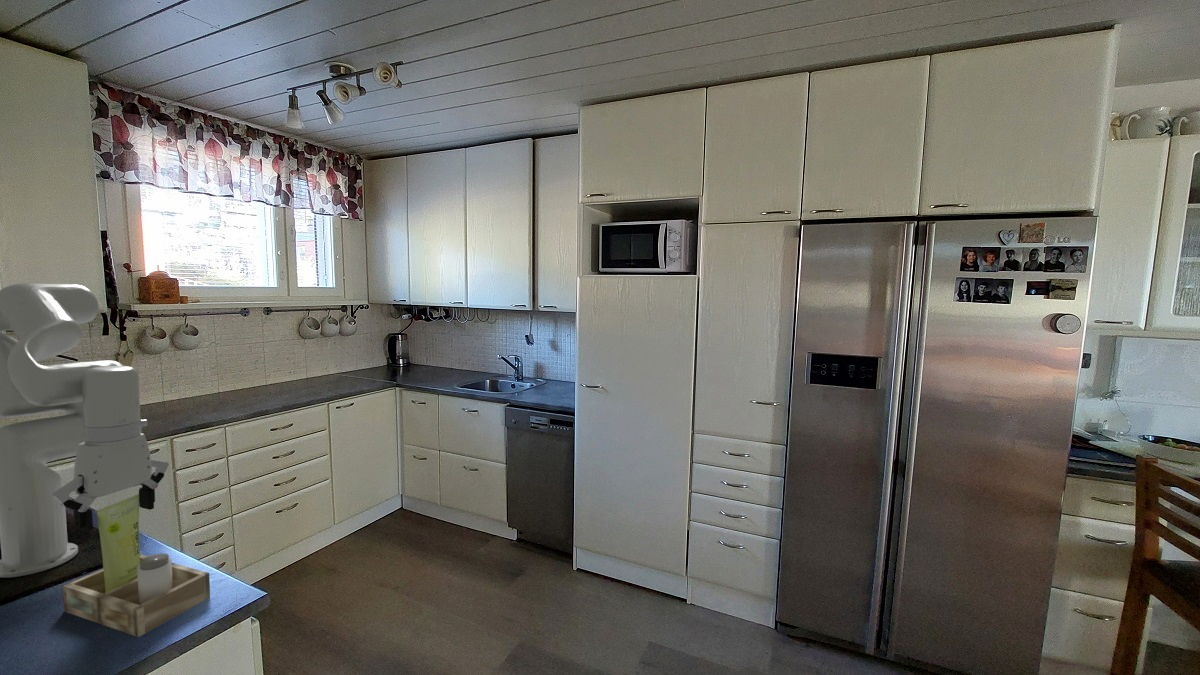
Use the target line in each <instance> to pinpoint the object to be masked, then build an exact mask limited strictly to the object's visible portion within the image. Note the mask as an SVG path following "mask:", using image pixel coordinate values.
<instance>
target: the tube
mask: <svg viewBox="0 0 1200 675" xmlns="http://www.w3.org/2000/svg"><path fill="white" fill-rule="evenodd" d="M95 512H96V513H95V515H96V518H97V520H96V521H97V526H98V532H99V540H100V547H101V548H100V549H101V555H102V556H101V557H102V569H104V580H105V593H106V592H109V591H111V590H113V589H115V588H117V587H119V586H122V585H124V584H126V583H128V582H130V581H133V580H135V579H137V578H138V576H137V568H138V566H139V565H140V554H141V552H140V551H141V550H140V548H141V547H140V506H139V493H137V494H135V495H133V496H130V497H128V498H125V499H123V500H120V501H117V502H115V503H113V504H110V505H108V506H105V507H103V508H99V509H97V510H96V511H95Z"/></svg>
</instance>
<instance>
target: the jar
mask: <svg viewBox="0 0 1200 675" xmlns="http://www.w3.org/2000/svg"><path fill="white" fill-rule="evenodd" d="M148 556H149V557H146V558H144V559H143V560H141V561H140V565H139V566H138V568H137V576H138V596H139V605H141V604H143V603H145V602H147V601H149V600H151V599H153V598H155V597H157V596H159V595H161V594H163V593H165V592H167V591H169V590H171V589H173V581H172V563H173V562H172V561H173V560H172V558H170V557H169V554H168V553H156V554H151V555H148Z"/></svg>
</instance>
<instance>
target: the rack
mask: <svg viewBox="0 0 1200 675" xmlns="http://www.w3.org/2000/svg"><path fill="white" fill-rule="evenodd" d="M149 556H150V555H145V554H142V553H140V561H141V560H143V559H144V558H146V557H149ZM172 581H173V589H171V590H169V591H167V592H165V593H163V594H161V595H159V596H157V597H155V598H153V599H151V600H149V601H147V602H145V603H143V604H141V605H139V596H138V578H137V579H135V580H133V581H130V582H128V583H126V584H124V585H122V586H119V587H117V588H115V589H113V590H111V591H109V592H106V593H105V580H104V568H102V569H99V570H96V571H94V572H92V573H90V574H88V575H85V576H83V577H80V578H78V579H75V580H73V581H71V582H69V583H65V585H62V595H63V598H62V599H63V609H64V610H63V611H64V612H65V613H68V614H69V615H70V614H71V615H73V616H76V617H79V618H82V619H86V620H87V621H90V622H94V623H95V624H99V625H102V626H106V627H108V628H110V629H114V630H116V631H119V632H123V633H125V634H128V635H131V636H134V637H137V638H139V637H141V636H143V635H144V634H147V633H149V632H151V631H152V630H154V629H155V628H157V627H159V626H162V625H163V624H164V623H166V622H168V621H170V620H172V619H173V618H175V617H177V616H179V615H181V614H183V613H185V612H186V611H188V610H190V609H191V608H193V607H195V606H197V605H198V604H200V603H203V602H204V601H206V600H208V599H210V598H211V583H210V572H207V571H204V570H200V569H196V568H193V567H189V566H186V565H185V566H184V565H181V564H179V563H174V562H172Z"/></svg>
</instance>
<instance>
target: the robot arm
mask: <svg viewBox="0 0 1200 675" xmlns="http://www.w3.org/2000/svg"><path fill="white" fill-rule="evenodd" d="M99 309H100V306H99V301H98V298H97V297H96V295H95V294H94V292H92V290H90V289H89V288H88V287H86V286H83V285H80V284H76V283H42V282H41V283H40V282H38V283H37V282H25V283H15V284H11V285H7V286H5V287H3V288H1V289H0V419H10V418H12V419H13V418H20V417H27V416H28V417H29V416H35V415H42V414H48V413H54V412H61V413H62V415H59V416H58V415H56V416H50V417H42V418H36V419H29V420H25V421H24V420H23V421H18V422H13V423H9V424H6V425H3V426H1V427H0V550H1V551H0V552H1V559H0V578H3V579H5V578H8V579H9V578H17V577H22V576H23V577H24V576H28V575H33V574H37V573H40V572H43V571H48V570H51V569H52V568H55V567H57V566H60V565H62V564H65V563H67V562H68V561H70V560H72V559H73V558H74V557H75V556H76V555H78V552H79V546H78V545H77V544H75V543H72V542H68V541H69V540H68V532H67V531H68V529H67V526H68V525H67V513H66V508H67V509H70V510H72V511H73V518H74V519H73V520H74V521H73V522H74V527H75V528H76V529H77V530H79V531H82V532H86V533H88V532H92V530H94V529H93V528H94V525H93V524H94V521H93V520H94V519H93V510H92V509H89V508H90V507H91V506H92V504H93V503H94V502H95V500H96V499H97V498H100V497H105V496H107V495H111V494H115V493H118V492H121V491H124V490H127V489H130V488H134V487H137V486H141V487H139V489H138V494H139V508H141V509H145V510H149V511H151V510H153V509H154V508H155V502H156V492H155V491H156V490H155V489H157V488H158V487H159V483H160V482H161V481H162V480H163V478H164V477H165V473H166V472H167V469H168V467H169V464H170V463H169V462H167V461H163V460H156V459H151V458H152V457H151V453H150V448H149V444H148V441H147V438H146V436H145V434H144V433H142V432H143V430H142V428H143V427H146V426H148V422H149V421H148V420H147V419H142V418H141V406H140V405H141V403H140V378H139V372H138V370H137V369H136V368H135V367H133V366H128V365H124V364H122V363H121V362H119V361H117V360H107V359H106V360H105V359H104V360H92V361H79V362H78V361H77V362H68V363H67V362H66V363H56V364H45V365H42V364H41V363H40V362H43V361H45V360H48V359H51V358H53V357H56V356H59V355H62V354H63V353H66V352H68V351H70V350H72V349H73V348H75V347H76V346H77V345H79V343H80V342H81V341H82V340H83V336H84V330H83V328H82V326H81V325H84V324H87V323H89V322H91V321H93V320H94V319H95V318H96V317H97V315H98V313H99ZM6 331H13V332H14V334H15V335H16V336H17V338H19V340H18V339H16V338H14V337H12V336H10V335H8V334H6V333H5V332H6ZM70 457H75V459H74V460H75V461H74V468H73V479H72V480H71V481H69V482H68V483H66V484H64V480H63V476H61V474H60V473H59V472H57V471H55V470H54V469H51V468H50V467H48V466H47V465H46V464H47V463H50V462H53V461H56V460H61V459H65V458H70ZM152 467H153V468H155V471H154V472H153V469H152ZM152 472H153V473H152ZM73 492H74V494H76V495H77V496H76V498H74V500H73V499H72V498H71V496H70V495H71V493H73Z"/></svg>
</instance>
